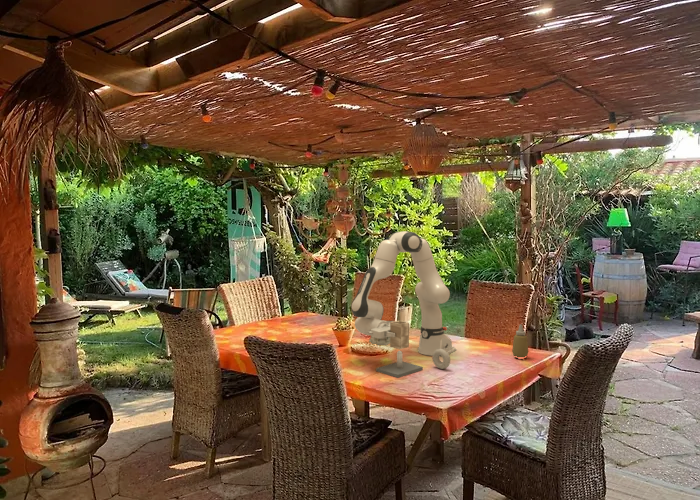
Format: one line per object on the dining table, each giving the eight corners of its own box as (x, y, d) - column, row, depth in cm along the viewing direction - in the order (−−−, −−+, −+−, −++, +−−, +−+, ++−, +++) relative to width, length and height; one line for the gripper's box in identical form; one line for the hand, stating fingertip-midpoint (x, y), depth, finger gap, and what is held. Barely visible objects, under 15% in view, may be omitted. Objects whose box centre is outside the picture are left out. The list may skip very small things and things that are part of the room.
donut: (430, 367, 255) (431, 347, 254) (435, 365, 257) (435, 346, 256) (447, 371, 247) (447, 351, 246) (451, 370, 250) (451, 350, 249)
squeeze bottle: (527, 356, 272) (528, 323, 271) (528, 361, 265) (529, 326, 263) (511, 355, 275) (512, 322, 273) (512, 359, 267) (513, 325, 266)
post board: (401, 363, 261) (401, 344, 260) (422, 369, 250) (422, 350, 250) (376, 371, 249) (376, 351, 248) (397, 377, 238) (397, 357, 238)
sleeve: (399, 344, 253) (399, 320, 252) (408, 347, 248) (409, 322, 247) (390, 346, 249) (390, 322, 248) (399, 349, 244) (400, 324, 243)
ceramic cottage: (371, 345, 296) (372, 319, 296) (367, 340, 312) (369, 315, 312) (397, 346, 297) (399, 321, 297) (392, 341, 314) (394, 316, 313)
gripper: (365, 325, 250) (386, 330, 240) (394, 320, 264) (414, 324, 254) (365, 338, 251) (386, 343, 241) (394, 332, 265) (414, 337, 254)
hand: (400, 333), depth 247 cm, fingers closed on sleeve, 6 cm apart
